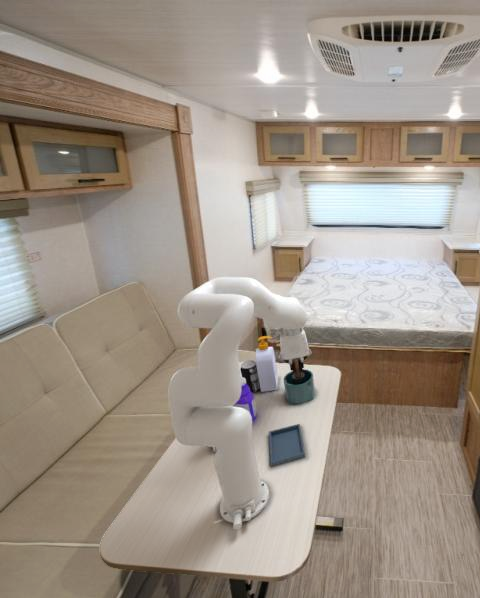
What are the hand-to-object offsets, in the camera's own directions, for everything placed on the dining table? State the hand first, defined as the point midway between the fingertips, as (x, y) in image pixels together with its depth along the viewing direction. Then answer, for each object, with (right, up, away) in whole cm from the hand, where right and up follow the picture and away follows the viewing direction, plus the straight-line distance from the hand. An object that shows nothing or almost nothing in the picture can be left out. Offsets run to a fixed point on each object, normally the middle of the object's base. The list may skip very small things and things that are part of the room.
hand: (297, 370), depth 136 cm
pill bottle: (-19, -21, -22) cm, 36 cm away
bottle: (-15, -16, -10) cm, 25 cm away
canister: (+1, -11, +3) cm, 11 cm away
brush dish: (+3, -21, -22) cm, 31 cm away
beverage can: (-20, -9, +7) cm, 24 cm away
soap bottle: (-14, -8, +9) cm, 19 cm away
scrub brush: (0, -5, +2) cm, 6 cm away
